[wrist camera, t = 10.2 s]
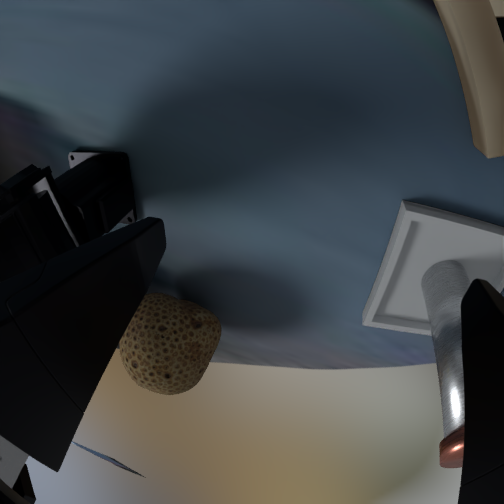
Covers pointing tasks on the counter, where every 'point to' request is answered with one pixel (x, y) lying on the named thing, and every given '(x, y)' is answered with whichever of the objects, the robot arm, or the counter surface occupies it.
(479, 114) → the socket block
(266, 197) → the counter surface
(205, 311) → the natural sponge
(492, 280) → the tray
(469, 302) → the robot arm
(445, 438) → the silver and brown cylinder
